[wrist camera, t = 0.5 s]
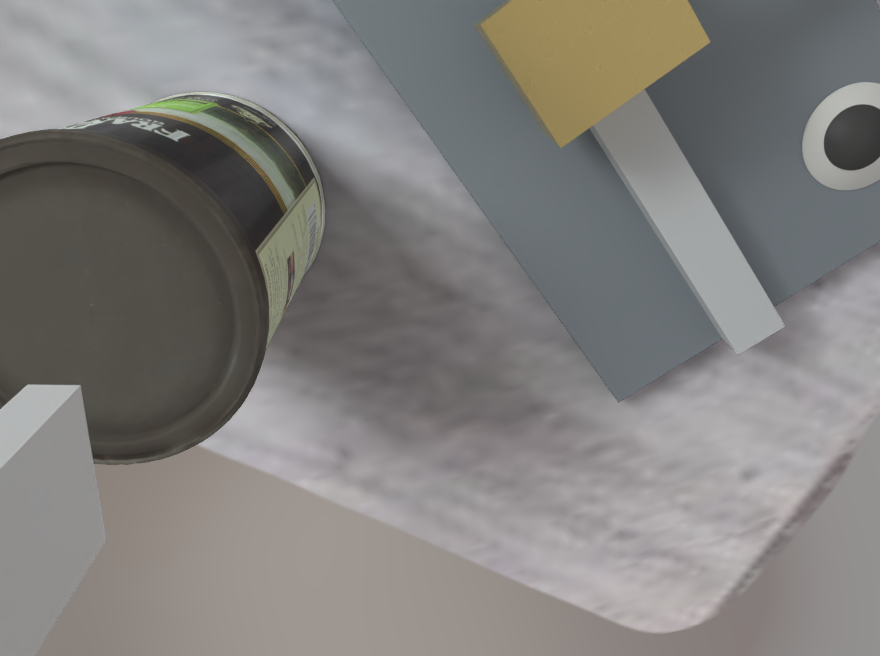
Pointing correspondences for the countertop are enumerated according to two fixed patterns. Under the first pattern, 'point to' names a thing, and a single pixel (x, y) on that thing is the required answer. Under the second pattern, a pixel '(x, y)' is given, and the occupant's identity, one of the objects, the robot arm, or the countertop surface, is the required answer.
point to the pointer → (587, 54)
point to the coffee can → (153, 264)
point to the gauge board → (589, 200)
